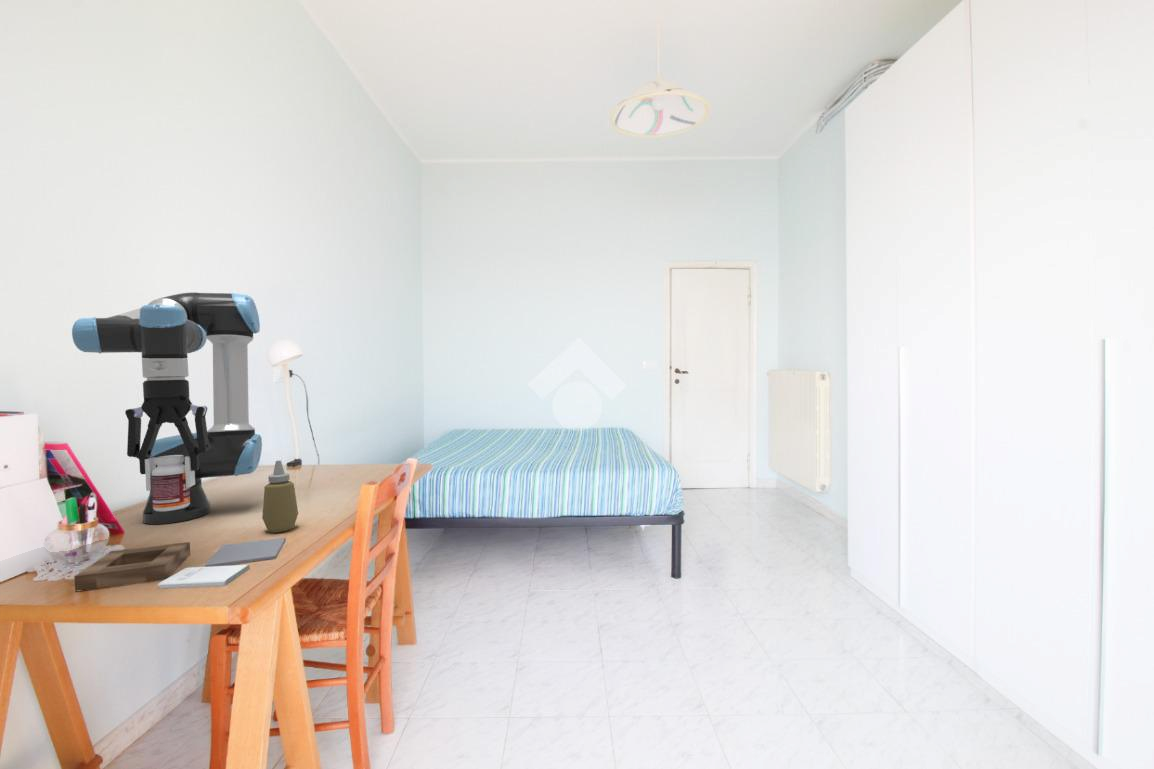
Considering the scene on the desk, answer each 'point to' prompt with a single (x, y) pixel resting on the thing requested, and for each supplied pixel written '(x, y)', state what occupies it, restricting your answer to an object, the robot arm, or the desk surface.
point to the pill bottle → (169, 484)
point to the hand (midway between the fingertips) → (171, 487)
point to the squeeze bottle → (279, 501)
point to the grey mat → (246, 552)
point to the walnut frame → (133, 566)
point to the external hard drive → (204, 576)
